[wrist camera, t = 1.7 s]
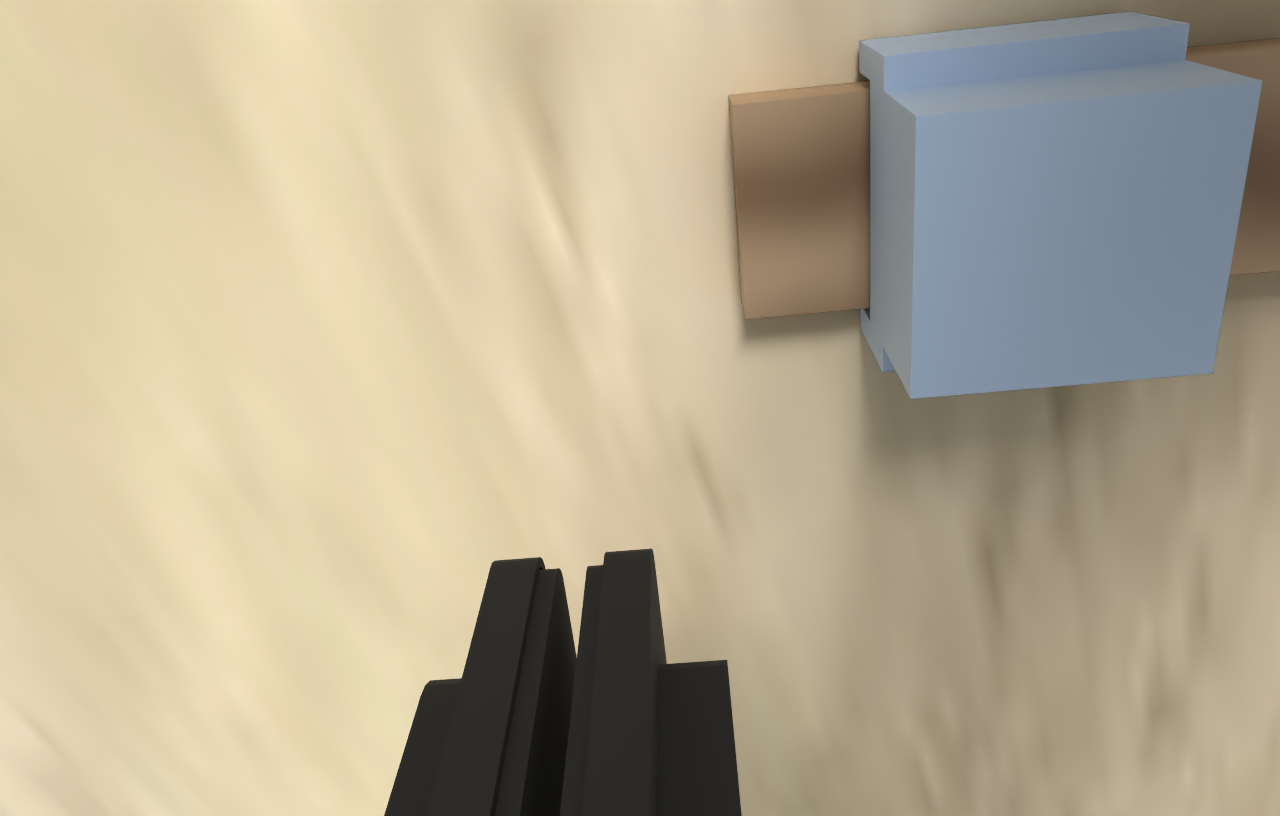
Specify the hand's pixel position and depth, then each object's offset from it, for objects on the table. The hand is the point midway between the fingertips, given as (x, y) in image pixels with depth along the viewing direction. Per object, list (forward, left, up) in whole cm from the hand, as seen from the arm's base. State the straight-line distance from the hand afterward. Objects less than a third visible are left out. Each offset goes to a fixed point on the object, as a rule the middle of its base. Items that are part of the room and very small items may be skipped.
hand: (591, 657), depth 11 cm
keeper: (0, +10, -19) cm, 22 cm away
